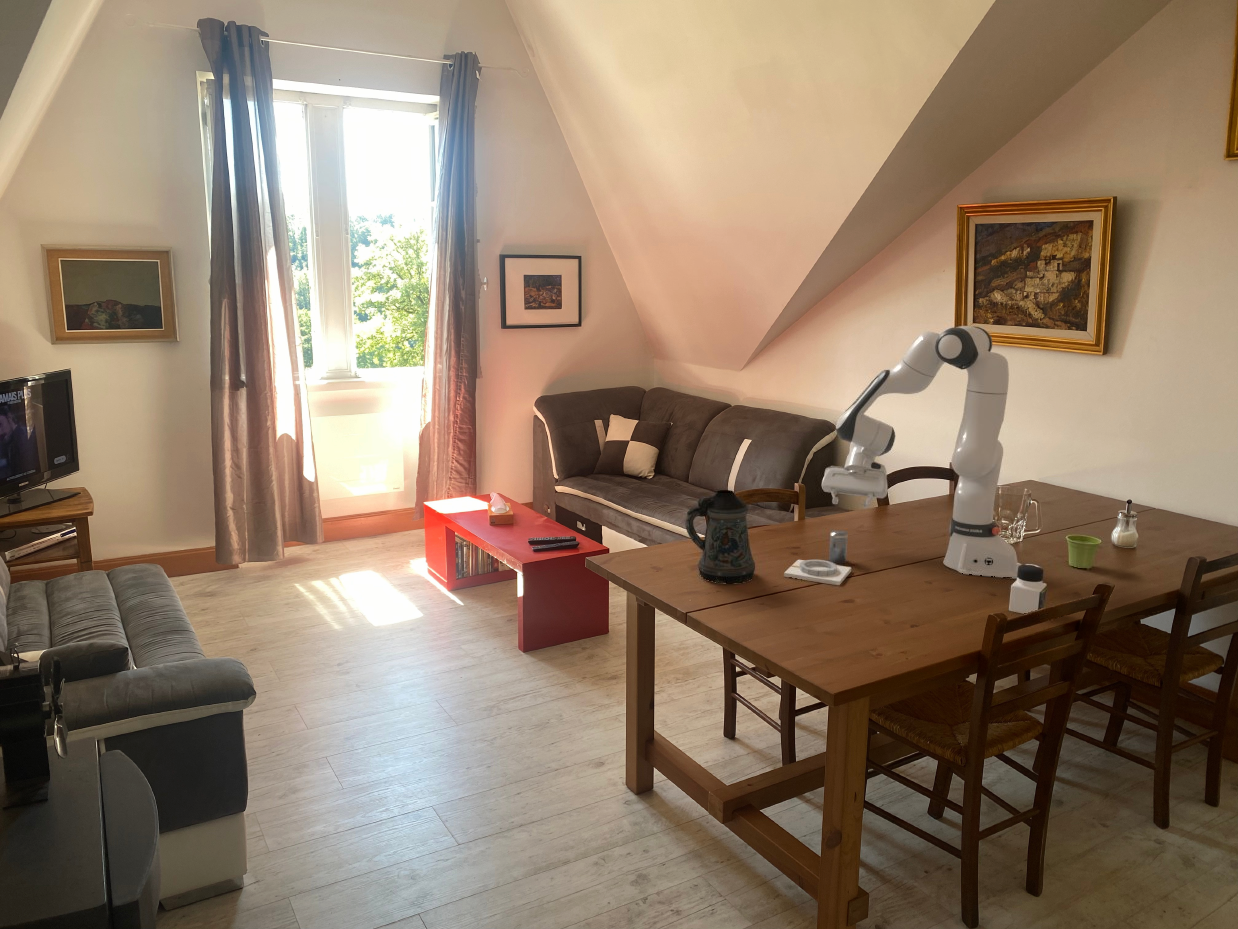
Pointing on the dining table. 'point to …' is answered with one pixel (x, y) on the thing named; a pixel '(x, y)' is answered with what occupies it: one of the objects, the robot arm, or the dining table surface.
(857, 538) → the dining table surface
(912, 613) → the dining table surface
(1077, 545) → the plant pot
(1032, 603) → the medicine bottle
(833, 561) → the coupling
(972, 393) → the robot arm
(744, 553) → the beer stein
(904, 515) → the dining table surface
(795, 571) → the mounting plate
